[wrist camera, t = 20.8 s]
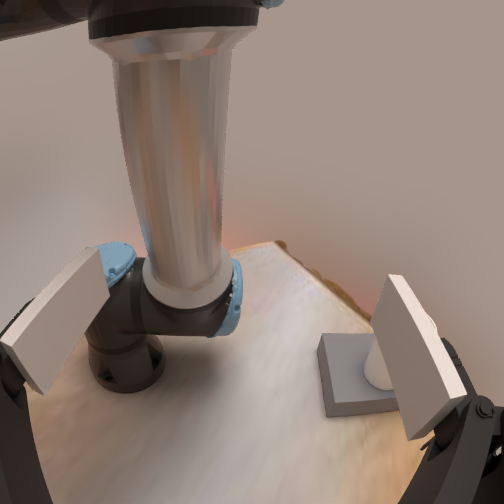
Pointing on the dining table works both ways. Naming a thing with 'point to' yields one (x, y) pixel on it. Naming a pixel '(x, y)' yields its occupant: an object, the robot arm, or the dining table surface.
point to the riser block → (350, 377)
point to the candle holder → (379, 366)
